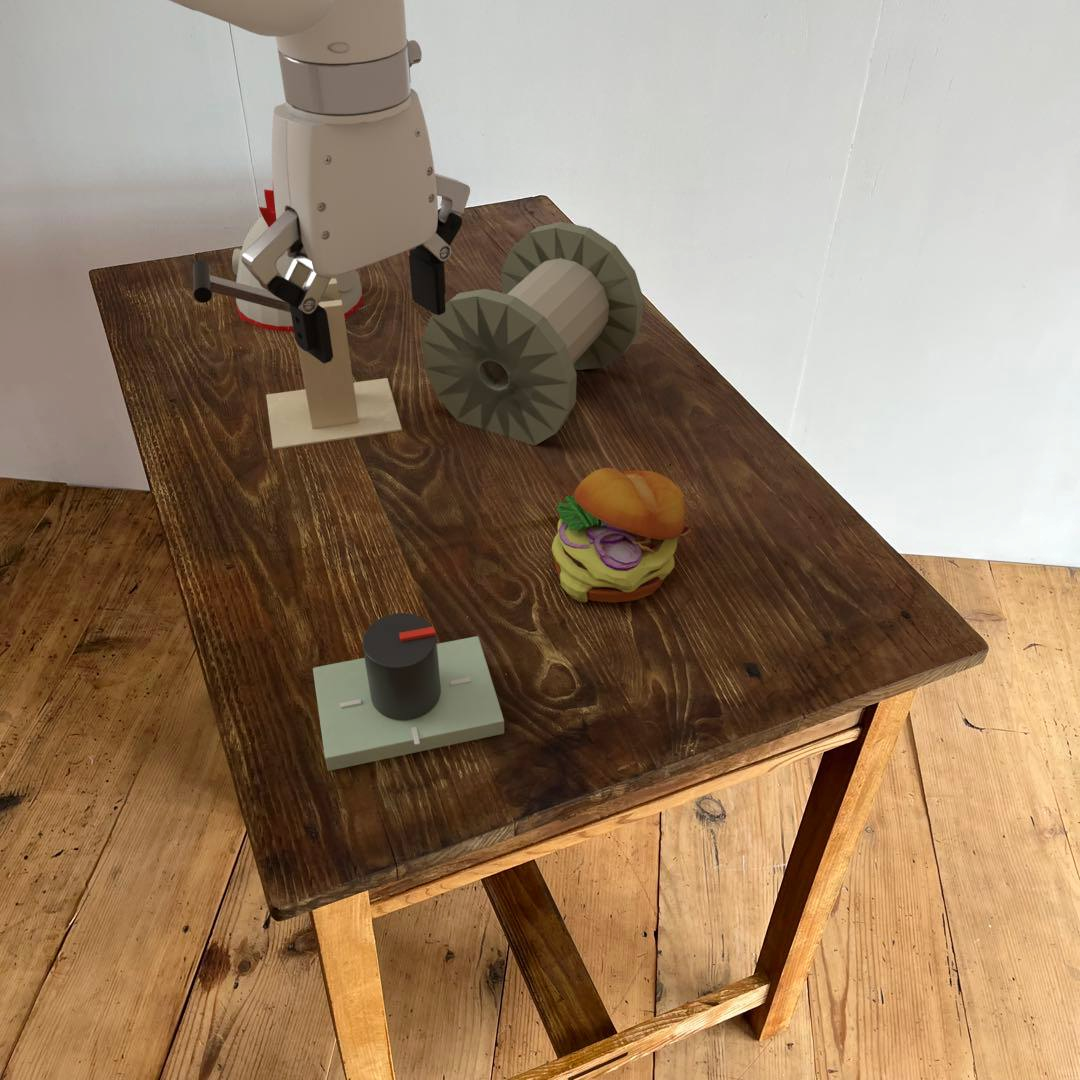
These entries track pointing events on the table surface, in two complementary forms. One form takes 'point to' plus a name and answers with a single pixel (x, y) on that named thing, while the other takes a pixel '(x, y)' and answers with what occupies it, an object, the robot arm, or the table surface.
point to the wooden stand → (331, 395)
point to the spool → (534, 333)
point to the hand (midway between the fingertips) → (374, 330)
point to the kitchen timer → (273, 317)
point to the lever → (233, 289)
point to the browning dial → (402, 666)
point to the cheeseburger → (618, 535)
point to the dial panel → (372, 736)
